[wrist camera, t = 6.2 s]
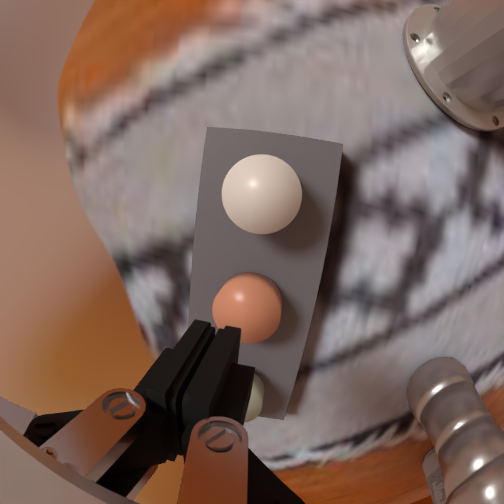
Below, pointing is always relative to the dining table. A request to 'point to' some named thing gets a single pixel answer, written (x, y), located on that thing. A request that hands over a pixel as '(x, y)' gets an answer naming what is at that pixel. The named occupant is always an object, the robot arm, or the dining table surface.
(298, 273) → the button board
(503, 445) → the plastic bottle
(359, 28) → the dining table surface
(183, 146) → the dining table surface
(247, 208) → the key cream
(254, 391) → the key sage
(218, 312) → the key terracotta
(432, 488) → the energy drink can
